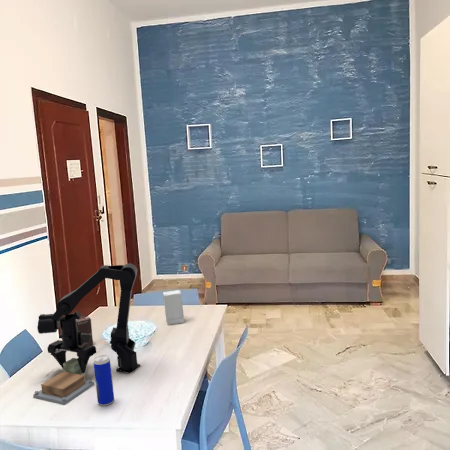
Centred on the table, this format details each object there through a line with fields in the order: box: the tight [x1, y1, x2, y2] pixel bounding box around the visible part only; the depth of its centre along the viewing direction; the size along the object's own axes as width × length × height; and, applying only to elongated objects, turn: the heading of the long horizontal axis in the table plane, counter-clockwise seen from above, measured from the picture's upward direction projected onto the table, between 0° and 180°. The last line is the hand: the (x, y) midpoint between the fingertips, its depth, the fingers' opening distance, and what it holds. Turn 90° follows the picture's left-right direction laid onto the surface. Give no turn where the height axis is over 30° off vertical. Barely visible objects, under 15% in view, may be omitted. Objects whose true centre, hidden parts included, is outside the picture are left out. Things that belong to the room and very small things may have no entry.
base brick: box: [40, 370, 86, 397], centre depth 157 cm, size 10×10×3 cm
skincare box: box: [162, 289, 185, 326], centre depth 216 cm, size 8×6×15 cm
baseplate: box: [32, 379, 95, 406], centre depth 158 cm, size 14×14×2 cm
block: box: [62, 357, 83, 375], centre depth 170 cm, size 5×5×5 cm
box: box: [76, 315, 94, 348], centre depth 195 cm, size 6×4×12 cm
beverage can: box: [93, 354, 115, 406], centre depth 147 cm, size 5×5×15 cm
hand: (74, 371), depth 170 cm, fingers open, 9 cm apart
